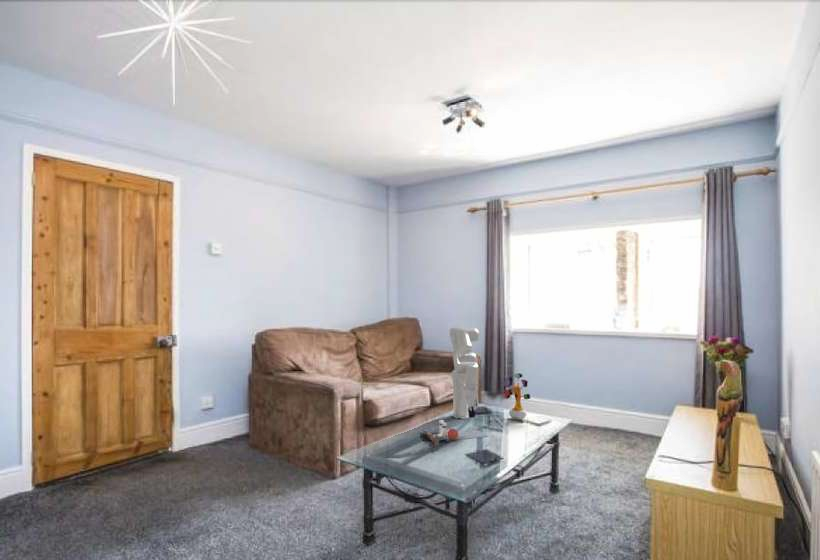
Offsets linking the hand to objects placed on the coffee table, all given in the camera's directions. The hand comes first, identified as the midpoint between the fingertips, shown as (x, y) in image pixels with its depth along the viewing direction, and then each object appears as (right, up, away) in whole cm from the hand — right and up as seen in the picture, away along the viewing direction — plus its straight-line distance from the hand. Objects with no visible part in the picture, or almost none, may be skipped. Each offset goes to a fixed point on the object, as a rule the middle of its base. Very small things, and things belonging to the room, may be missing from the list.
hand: (471, 417), depth 256 cm
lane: (-8, -10, -4) cm, 13 cm away
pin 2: (-17, -10, -9) cm, 21 cm away
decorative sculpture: (+34, -11, +29) cm, 46 cm away
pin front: (-15, -9, -6) cm, 18 cm away
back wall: (-24, -10, -9) cm, 28 cm away
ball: (-12, -7, -10) cm, 17 cm away
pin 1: (-18, -10, -4) cm, 21 cm away
